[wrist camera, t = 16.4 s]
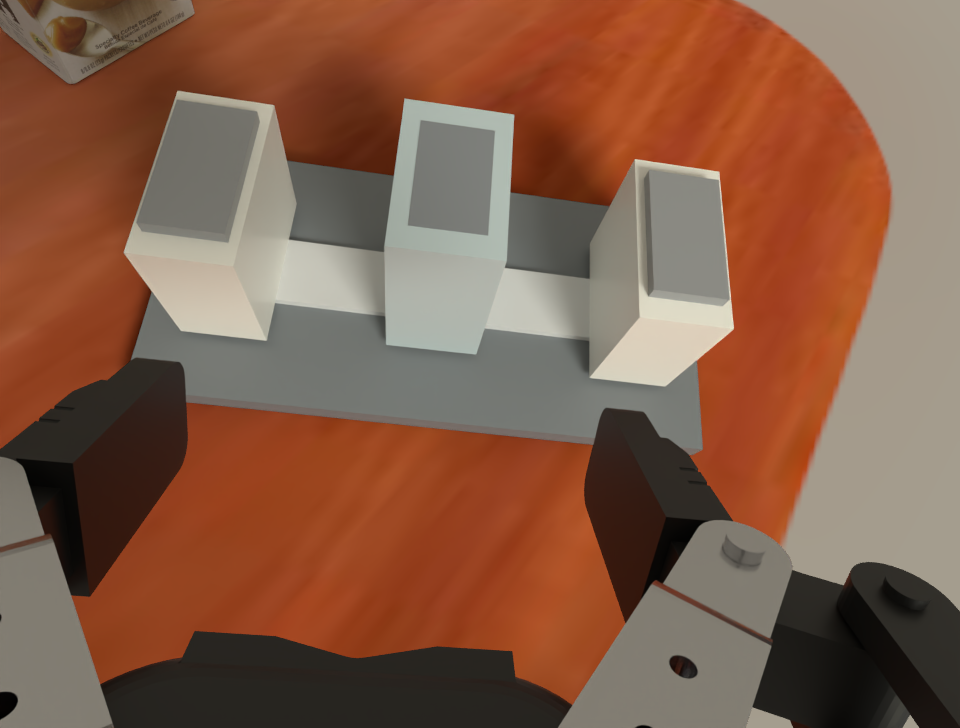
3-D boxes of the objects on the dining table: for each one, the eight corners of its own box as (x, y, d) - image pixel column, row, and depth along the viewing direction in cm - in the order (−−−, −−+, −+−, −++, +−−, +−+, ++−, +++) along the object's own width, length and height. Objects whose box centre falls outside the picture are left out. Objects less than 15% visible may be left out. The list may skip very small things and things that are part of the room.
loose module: (386, 344, 31) (384, 246, 23) (401, 225, 34) (404, 98, 25) (476, 354, 32) (506, 260, 23) (484, 236, 34) (514, 114, 26)
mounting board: (132, 396, 30) (118, 385, 29) (201, 162, 35) (193, 142, 34) (692, 455, 33) (706, 447, 31) (678, 229, 38) (690, 213, 37)
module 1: (181, 330, 30) (117, 244, 23) (219, 193, 33) (173, 79, 26) (266, 340, 30) (229, 258, 23) (296, 204, 33) (271, 94, 26)
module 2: (589, 378, 32) (645, 310, 25) (589, 243, 35) (639, 150, 28) (665, 386, 32) (741, 322, 25) (659, 253, 35) (725, 163, 28)
